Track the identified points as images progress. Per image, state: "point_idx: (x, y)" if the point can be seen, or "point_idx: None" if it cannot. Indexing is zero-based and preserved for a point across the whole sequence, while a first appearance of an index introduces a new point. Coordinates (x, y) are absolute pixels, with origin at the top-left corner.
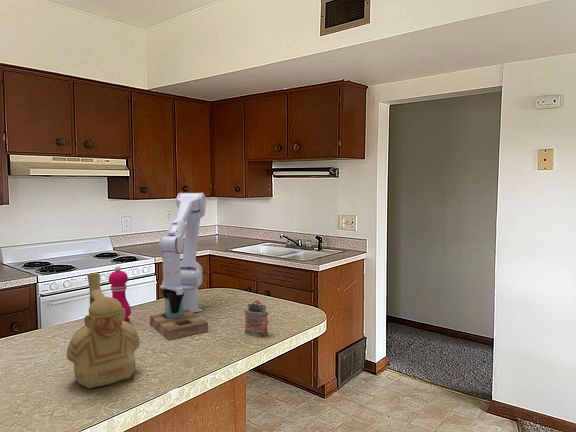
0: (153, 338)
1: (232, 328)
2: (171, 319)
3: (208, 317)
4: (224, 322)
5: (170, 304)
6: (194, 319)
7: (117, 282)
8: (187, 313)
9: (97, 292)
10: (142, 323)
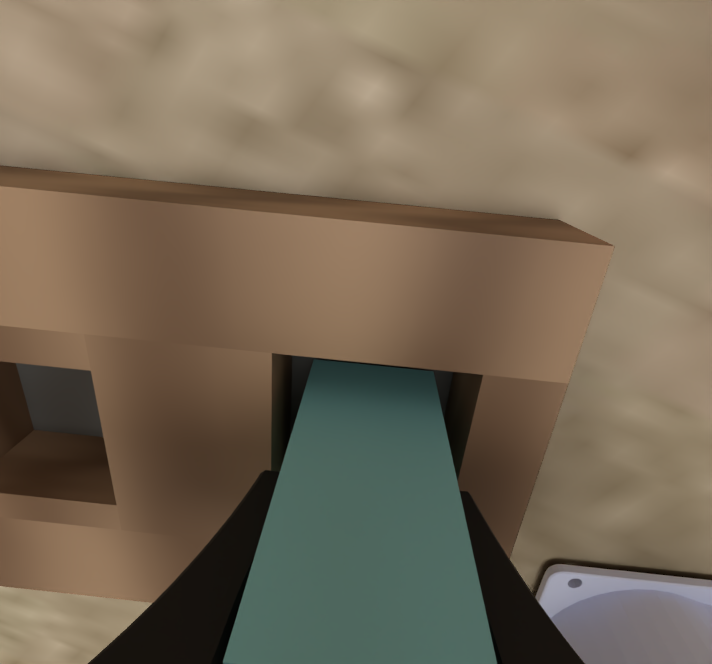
0: (17, 24)
1: (14, 626)
2: (218, 393)
3: None
4: None
5: (220, 581)
6: (84, 547)
7: None
8: None
9: None
10: (673, 154)
